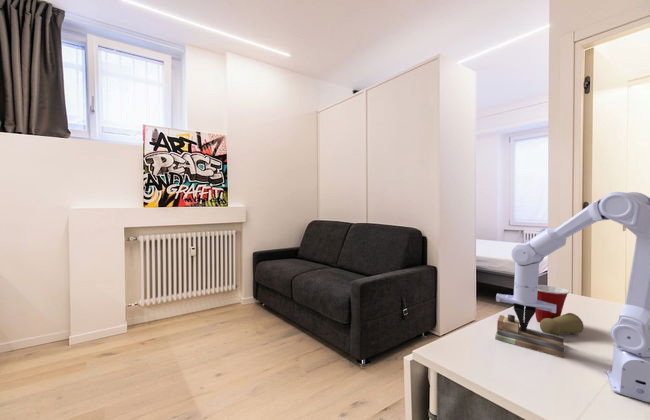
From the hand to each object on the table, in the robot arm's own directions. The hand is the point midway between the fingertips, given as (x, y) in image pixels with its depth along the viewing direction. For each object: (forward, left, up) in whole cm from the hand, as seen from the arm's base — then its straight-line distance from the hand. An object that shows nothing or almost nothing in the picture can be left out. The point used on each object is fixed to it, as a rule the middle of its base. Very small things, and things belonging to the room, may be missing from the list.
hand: (523, 330), depth 87 cm
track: (0, -1, -3) cm, 3 cm away
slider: (0, +3, -2) cm, 4 cm away
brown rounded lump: (+16, -12, 0) cm, 20 cm away
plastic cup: (+20, -5, -3) cm, 21 cm away
